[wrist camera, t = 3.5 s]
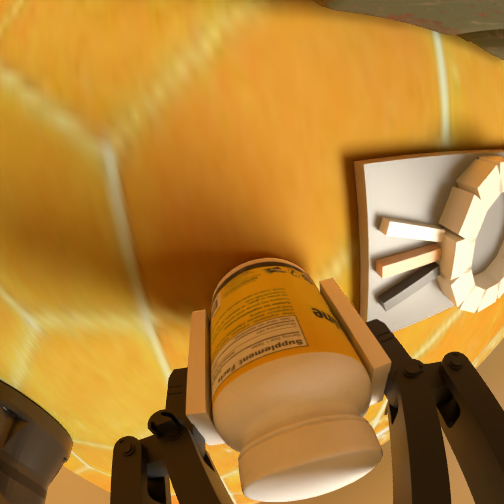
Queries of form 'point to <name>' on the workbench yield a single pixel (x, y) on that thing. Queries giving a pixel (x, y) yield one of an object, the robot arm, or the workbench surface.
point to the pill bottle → (287, 385)
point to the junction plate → (430, 234)
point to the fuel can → (439, 17)
